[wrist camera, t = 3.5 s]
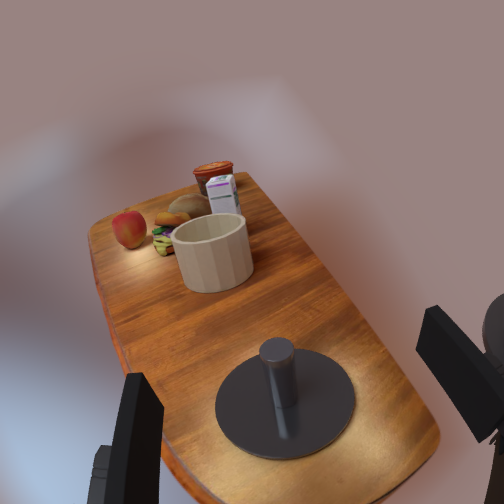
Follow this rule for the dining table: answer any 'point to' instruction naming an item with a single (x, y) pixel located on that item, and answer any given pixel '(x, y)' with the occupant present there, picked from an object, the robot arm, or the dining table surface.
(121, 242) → the apple
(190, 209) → the bread roll
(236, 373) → the lid
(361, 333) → the dining table surface
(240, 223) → the pot
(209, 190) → the syrup box
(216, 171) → the food container
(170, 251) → the cheeseburger
